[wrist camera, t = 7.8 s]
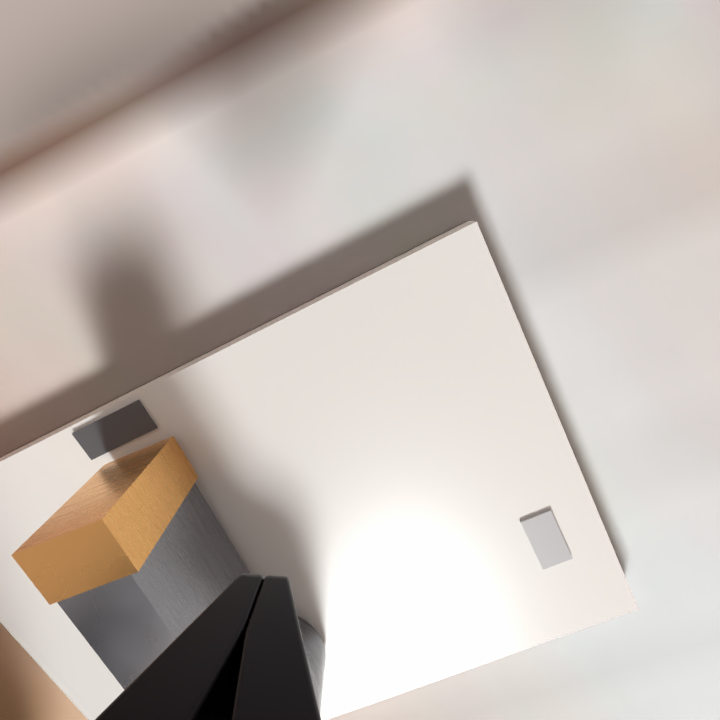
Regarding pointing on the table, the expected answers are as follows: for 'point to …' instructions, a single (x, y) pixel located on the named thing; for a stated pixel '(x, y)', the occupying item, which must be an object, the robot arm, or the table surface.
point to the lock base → (357, 481)
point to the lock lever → (139, 561)
